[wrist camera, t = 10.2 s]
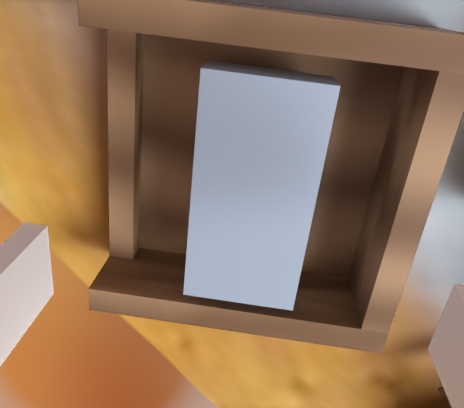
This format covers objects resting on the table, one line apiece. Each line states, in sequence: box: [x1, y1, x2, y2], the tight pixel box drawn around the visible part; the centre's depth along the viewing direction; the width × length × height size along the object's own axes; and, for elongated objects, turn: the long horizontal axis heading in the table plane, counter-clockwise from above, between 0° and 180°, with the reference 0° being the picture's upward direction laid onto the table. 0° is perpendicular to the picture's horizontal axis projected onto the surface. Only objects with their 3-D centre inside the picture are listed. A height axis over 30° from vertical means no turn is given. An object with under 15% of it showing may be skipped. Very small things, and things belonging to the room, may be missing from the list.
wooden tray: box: [78, 0, 464, 353], centre depth 25 cm, size 17×17×6 cm
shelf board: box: [183, 61, 341, 311], centre depth 23 cm, size 12×6×2 cm, turn 173°
